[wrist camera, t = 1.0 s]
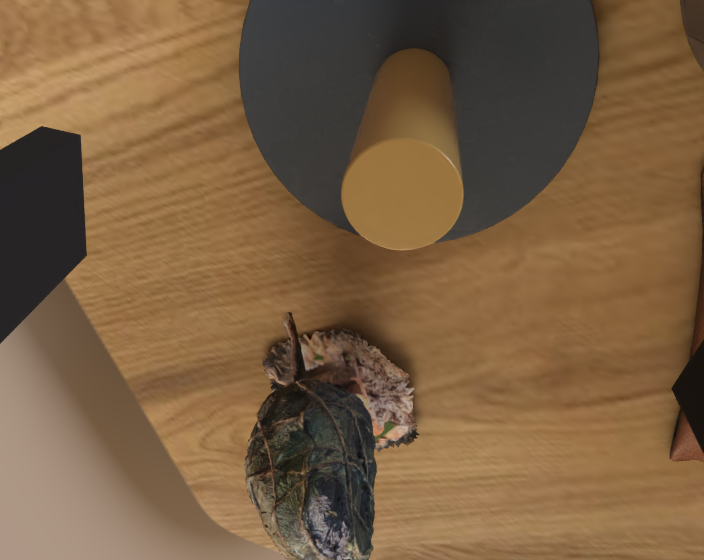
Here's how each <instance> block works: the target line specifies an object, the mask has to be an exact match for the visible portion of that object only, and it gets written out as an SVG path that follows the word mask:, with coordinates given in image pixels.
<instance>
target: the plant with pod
mask: <svg viewBox="0 0 704 560" xmlns="http://www.w3.org/2000/svg"><path fill="white" fill-rule="evenodd" d="M283 319H284V320H283V322H282V324H283V326H284V328H285V329H286V332H287V336H288V337H290V339H291V343H290V341H289V340H288V341H287V342H286V343H281V342H279V344H278V348H276V347H273V346H272V350H271V353H269V354H267V355H265V357H266V359H263V365H264V367H267V368H266V369H264V370H265V371H267V374H266V375H265V376H269V378H272V379H271V381H270V383H271V384H273V385H272V386H271V389H272V390H273V391H272V393H271V394H270V395H269V396H268V397H267V399H266V400H265V401H264V402H263V404H262V405H261V408H260V410H259V411H258V412H257V418H258V421H257V423H256V424H255V426H254V428H253V431H252V433H251V438H250V439H249V440H248V444H247V446H248V447H247V451H248V455H247V457H245V460H246V462H245V464H244V467H245V470H246V479H245V481H246V483H247V491H248V494H249V496H250V498H251V501H252V503H253V505H254V506H255V507H256V508H257V510H258V513H259V516H260V517H261V519H262V521H263V527H264V530H265V531H266V533H267V534H268V535H269V537H270V538H271V539H272V541H273V542H274V544H275V546H276V547H277V549H278V551H279V552H280V553H281V555H283V557H284V558H286V559H287V560H368V559H369V557H370V554H371V551H373V545H371V538H372V535H373V531H374V529H373V521H374V518H375V517H374V514H375V511H374V505H375V503H374V480H375V475H376V473H377V465H376V461H375V458H374V449H377V450H378V452H379V451H381V450H382V449H384V448H388V447H389V445H390V446H391V447H393V448H394V443H395V444H396V445H397V447H399V445H400V444H401V443H404V444H406V445H409V444H410V443H412V442H414V438H417V437H416V435H419V434H418V433H417V432H416V430H417V429H416V428H415V427H416V426H417V425H416V424H415V423H416V422H415V420H414V419H413V417H414V413H413V411H414V409H413V408H412V407H413V401H412V398H413V397H414V396H408V395H409V394H410V393H411V392H412V391H413V390H414V389H415V388H405V387H406V386H407V384H408V383H409V382H410V381H411V379H410V377H409V374H408V373H402V372H406V371H403V370H402V369H400V368H399V367H397V366H396V365H395V364H394V363H390V362H391V360H386V357H385V356H384V355H382V354H381V353H380V350H381V349H376V347H375V346H374V347H372V345H371V346H369V347H368V343H367V340H363V335H362V336H361V337H359V333H358V332H356V333H354V332H353V331H352V330H351V329H350V330H348V331H347V330H346V329H345V328H344V327H343V330H342V329H340V328H338V327H337V329H338V332H337V331H336V330H335V329H334V328H333V329H332V330H331V331H330V332H328V331H324V332H317V331H315V332H314V334H313V336H312V338H311V340H309V338H308V337H307V336H306V335H305V333H304V335H303V337H302V338H298V334H297V330H296V326H295V323H294V320H293V317H292V313H290V312H287V313H285V314H284V315H283ZM269 378H268V379H269Z"/></svg>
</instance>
